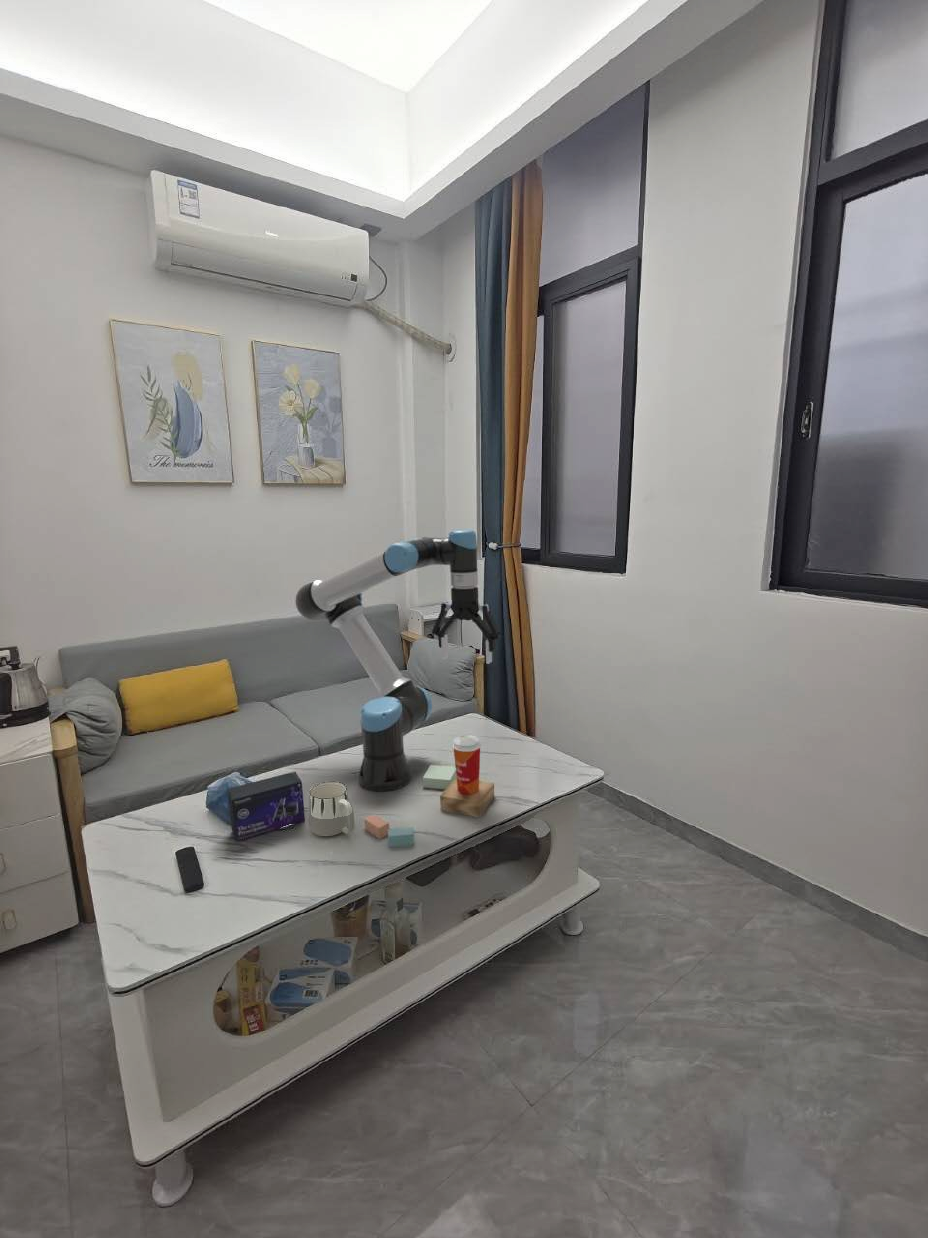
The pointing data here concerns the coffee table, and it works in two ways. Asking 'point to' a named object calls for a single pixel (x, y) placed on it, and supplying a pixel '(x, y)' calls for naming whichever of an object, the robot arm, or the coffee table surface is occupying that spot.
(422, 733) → the coffee table surface
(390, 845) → the brick
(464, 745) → the paper cup
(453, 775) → the sage pad
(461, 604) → the robot arm
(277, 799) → the box
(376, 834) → the brick
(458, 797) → the oak block
